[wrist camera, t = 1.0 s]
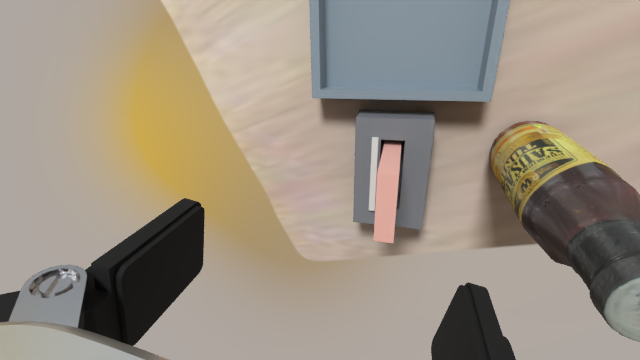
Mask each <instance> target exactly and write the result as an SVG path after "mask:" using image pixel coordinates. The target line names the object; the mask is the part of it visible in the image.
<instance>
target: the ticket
mask: <svg viewBox="0 0 640 360" xmlns="http://www.w3.org/2000/svg"><path fill="white" fill-rule="evenodd" d="M401 143H402V141H401V140H385V143H384V147H383V151H382V155H381V159H380V163H379V168H378V172H377V185H376V204H375V222H374V241H379V242H387V243H393V242H394V230H395V218H396V206H397V194H398V182H399V170H400V157H401Z"/></svg>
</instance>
